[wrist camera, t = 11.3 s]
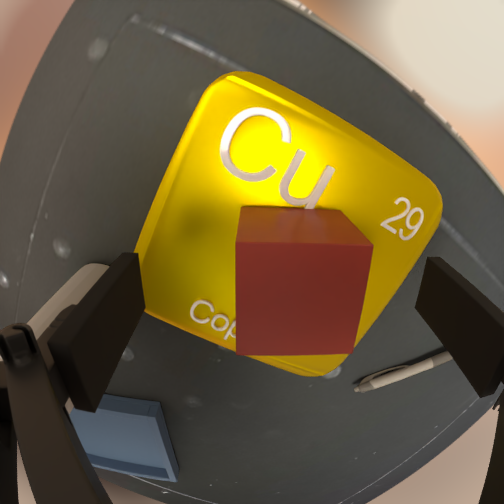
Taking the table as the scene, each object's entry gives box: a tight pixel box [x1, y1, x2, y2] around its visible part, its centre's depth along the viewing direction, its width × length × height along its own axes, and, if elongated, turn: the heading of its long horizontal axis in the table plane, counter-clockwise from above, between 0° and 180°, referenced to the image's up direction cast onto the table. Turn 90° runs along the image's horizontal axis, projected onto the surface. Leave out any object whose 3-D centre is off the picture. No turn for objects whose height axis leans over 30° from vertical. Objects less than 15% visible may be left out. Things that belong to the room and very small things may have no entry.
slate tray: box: [69, 394, 179, 482], centre depth 29 cm, size 16×14×2 cm
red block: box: [235, 207, 374, 356], centre depth 14 cm, size 5×5×5 cm
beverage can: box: [0, 263, 110, 414], centre depth 17 cm, size 5×5×12 cm
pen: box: [354, 351, 453, 392], centre depth 25 cm, size 1×14×1 cm, turn 108°
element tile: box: [133, 71, 443, 377], centre depth 19 cm, size 15×15×5 cm
